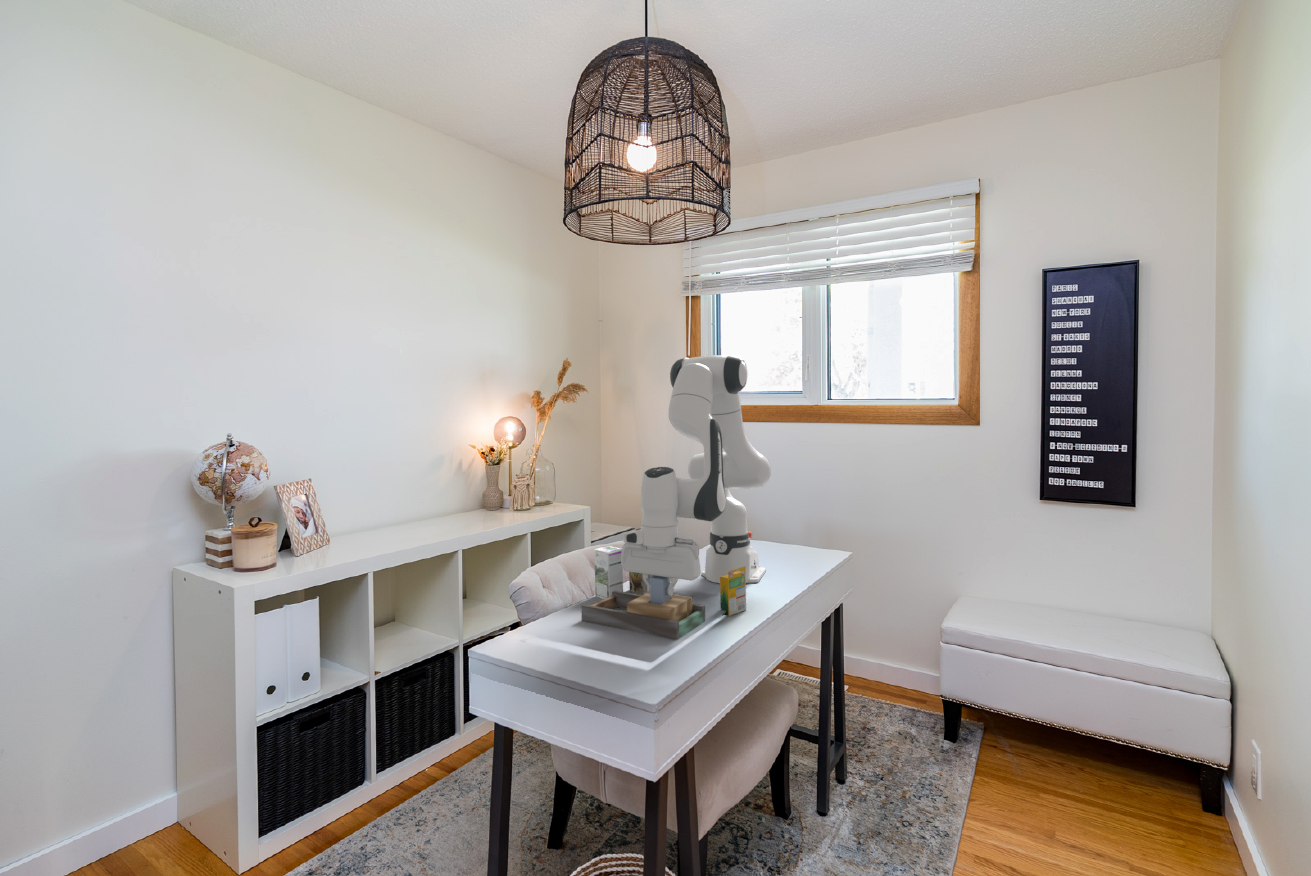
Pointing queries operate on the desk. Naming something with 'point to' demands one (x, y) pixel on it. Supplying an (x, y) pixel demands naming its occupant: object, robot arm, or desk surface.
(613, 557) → the syrup box
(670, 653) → the desk surface
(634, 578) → the coffee box
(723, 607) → the crayon box
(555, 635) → the desk surface
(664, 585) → the handle peg
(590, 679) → the desk surface
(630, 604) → the slotted wooden block
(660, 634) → the bay
